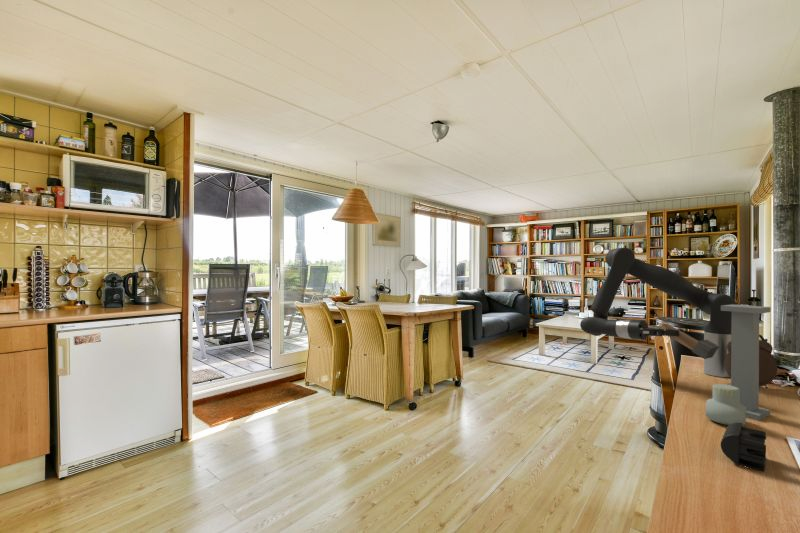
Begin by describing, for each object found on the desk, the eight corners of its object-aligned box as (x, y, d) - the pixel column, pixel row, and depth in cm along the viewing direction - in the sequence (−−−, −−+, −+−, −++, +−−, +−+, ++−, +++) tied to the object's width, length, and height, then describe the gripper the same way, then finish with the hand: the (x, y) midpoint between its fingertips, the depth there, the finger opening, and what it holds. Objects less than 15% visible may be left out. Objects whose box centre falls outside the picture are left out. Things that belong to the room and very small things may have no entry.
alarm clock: (762, 385, 145) (762, 331, 145) (779, 391, 137) (779, 335, 137) (720, 383, 146) (720, 330, 146) (735, 389, 139) (735, 333, 139)
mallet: (664, 329, 145) (670, 319, 143) (712, 357, 132) (719, 346, 130) (656, 330, 142) (662, 320, 140) (704, 359, 129) (711, 348, 127)
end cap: (725, 447, 93) (725, 419, 93) (765, 457, 88) (766, 428, 88) (720, 461, 86) (720, 431, 86) (764, 473, 81) (764, 441, 81)
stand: (731, 405, 122) (732, 304, 122) (769, 414, 114) (770, 307, 114) (719, 410, 117) (720, 305, 117) (758, 420, 109) (759, 308, 110)
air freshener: (744, 432, 101) (744, 394, 101) (704, 423, 107) (704, 387, 107) (746, 421, 109) (746, 385, 109) (709, 413, 115) (709, 379, 115)
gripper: (621, 320, 149) (671, 323, 134) (640, 318, 156) (690, 321, 141) (622, 340, 148) (672, 345, 134) (641, 337, 155) (691, 341, 141)
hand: (681, 332), depth 137 cm, fingers closed on mallet, 3 cm apart
